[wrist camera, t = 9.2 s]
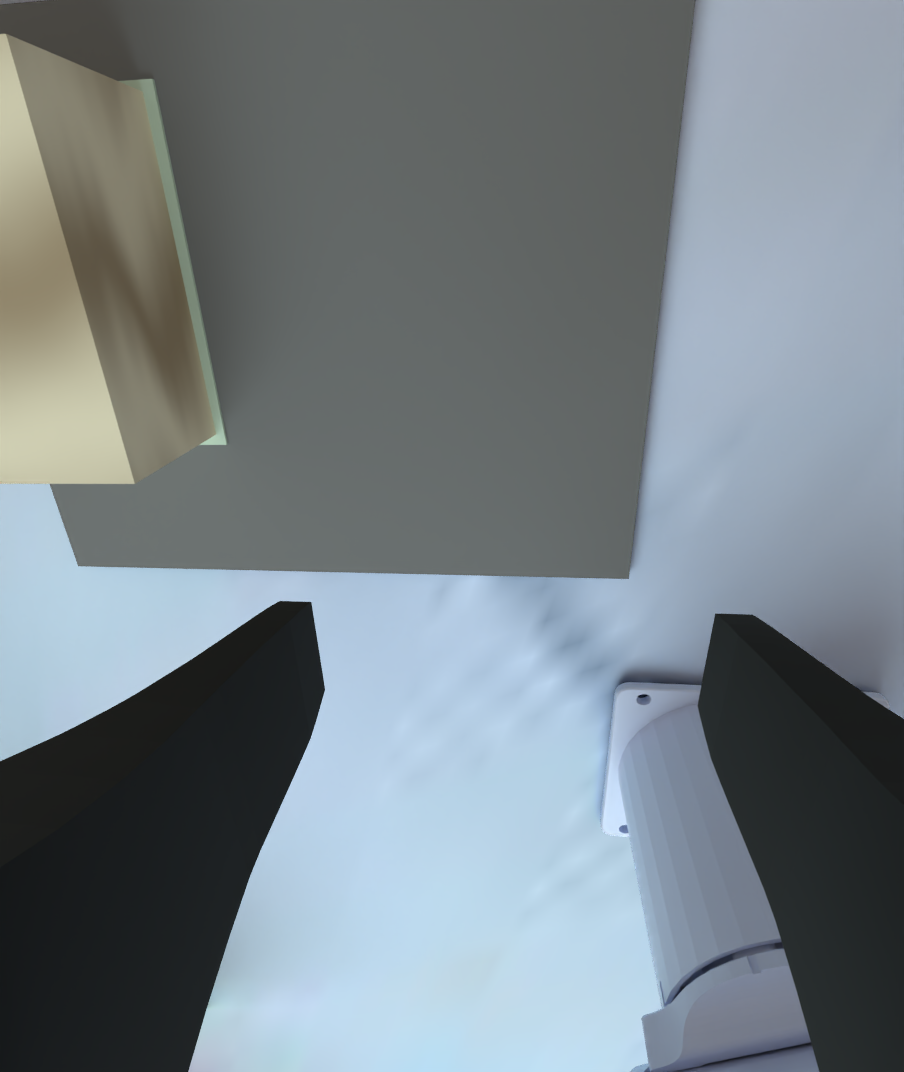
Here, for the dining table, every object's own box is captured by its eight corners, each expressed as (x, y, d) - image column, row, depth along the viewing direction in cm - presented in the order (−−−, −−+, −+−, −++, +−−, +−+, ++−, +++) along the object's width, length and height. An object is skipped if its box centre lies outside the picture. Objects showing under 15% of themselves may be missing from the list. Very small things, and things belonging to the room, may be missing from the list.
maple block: (216, 434, 19) (134, 484, 15) (72, 435, 19) (-44, 483, 15) (142, 91, 15) (5, 33, 11) (-35, 104, 16) (-227, 53, 12)
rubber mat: (696, -47, 13) (702, -57, 13) (626, 573, 20) (628, 580, 20) (-99, 19, 15) (-119, 12, 15) (85, 561, 22) (76, 567, 22)
